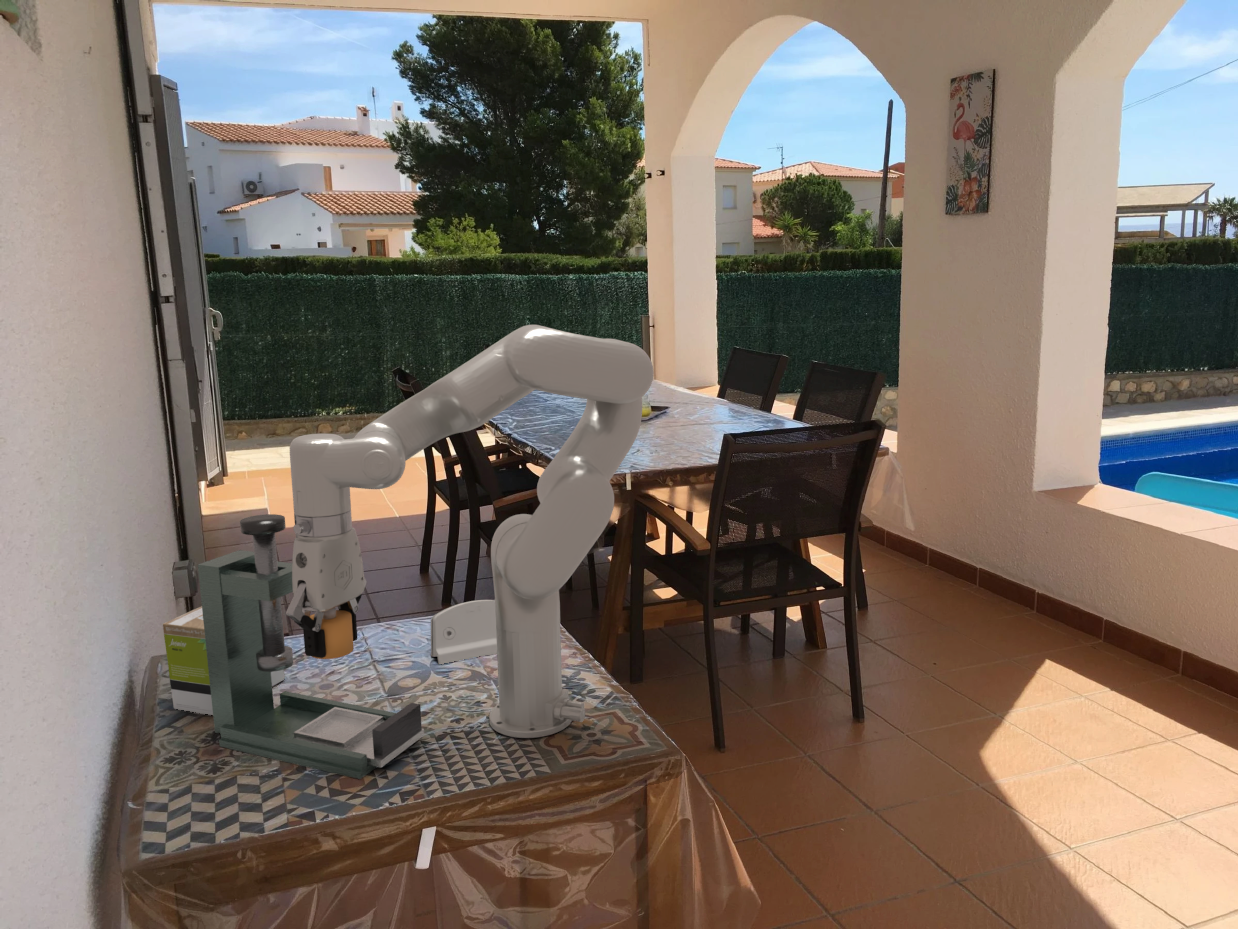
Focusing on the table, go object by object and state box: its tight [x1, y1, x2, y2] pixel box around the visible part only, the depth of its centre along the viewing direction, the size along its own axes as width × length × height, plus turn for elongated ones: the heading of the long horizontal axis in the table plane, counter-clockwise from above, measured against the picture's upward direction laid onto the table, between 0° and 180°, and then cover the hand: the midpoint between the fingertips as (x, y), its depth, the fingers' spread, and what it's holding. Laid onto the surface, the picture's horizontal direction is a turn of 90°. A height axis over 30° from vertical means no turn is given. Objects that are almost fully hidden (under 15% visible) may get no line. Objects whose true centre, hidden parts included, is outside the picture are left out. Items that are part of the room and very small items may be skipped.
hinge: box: [430, 599, 497, 665], centre depth 172 cm, size 17×5×10 cm, turn 117°
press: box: [197, 549, 397, 780], centre depth 137 cm, size 29×14×26 cm, turn 67°
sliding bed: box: [294, 702, 425, 768], centre depth 136 cm, size 15×10×5 cm, turn 67°
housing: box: [310, 607, 355, 660], centre depth 134 cm, size 6×6×6 cm
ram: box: [239, 513, 294, 672], centre depth 138 cm, size 6×6×22 cm
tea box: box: [162, 605, 286, 716], centre depth 153 cm, size 15×10×15 cm
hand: (331, 646), depth 135 cm, fingers closed on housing, 6 cm apart
